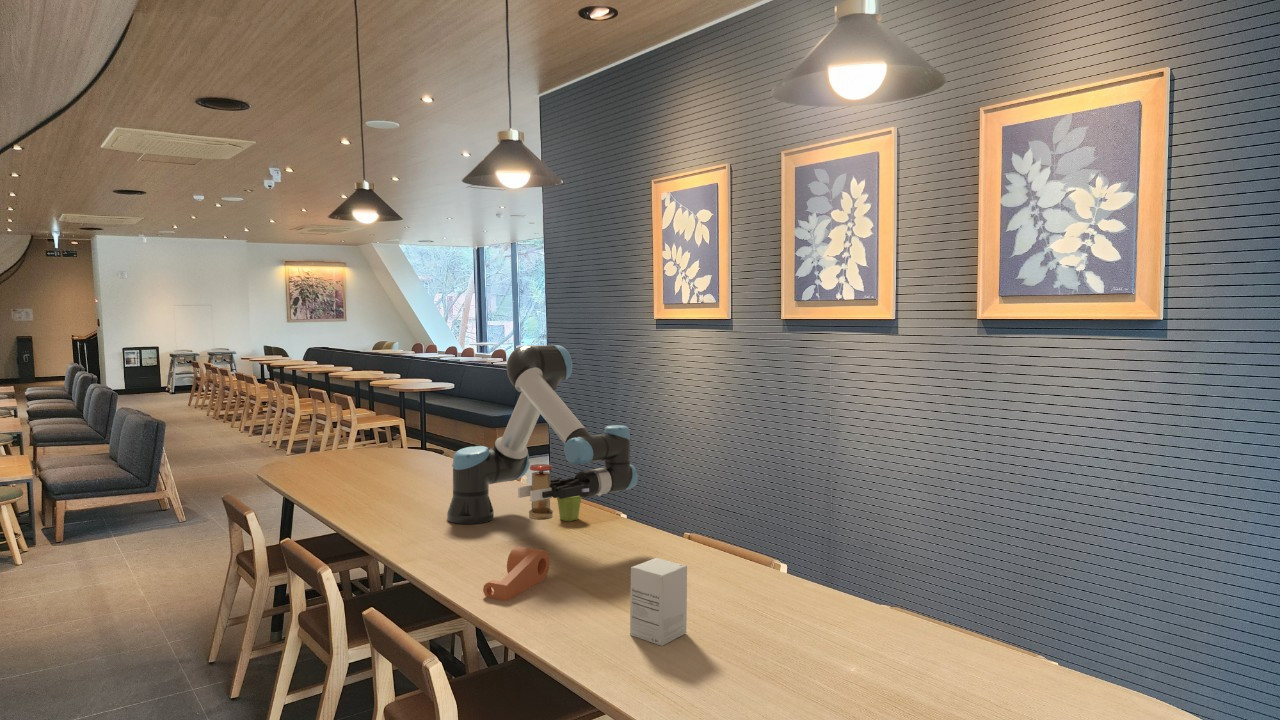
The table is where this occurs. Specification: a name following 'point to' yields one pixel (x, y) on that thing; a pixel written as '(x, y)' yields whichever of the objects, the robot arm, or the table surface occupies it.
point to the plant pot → (569, 508)
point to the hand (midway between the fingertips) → (525, 494)
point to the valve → (538, 482)
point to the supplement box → (658, 601)
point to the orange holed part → (519, 573)
